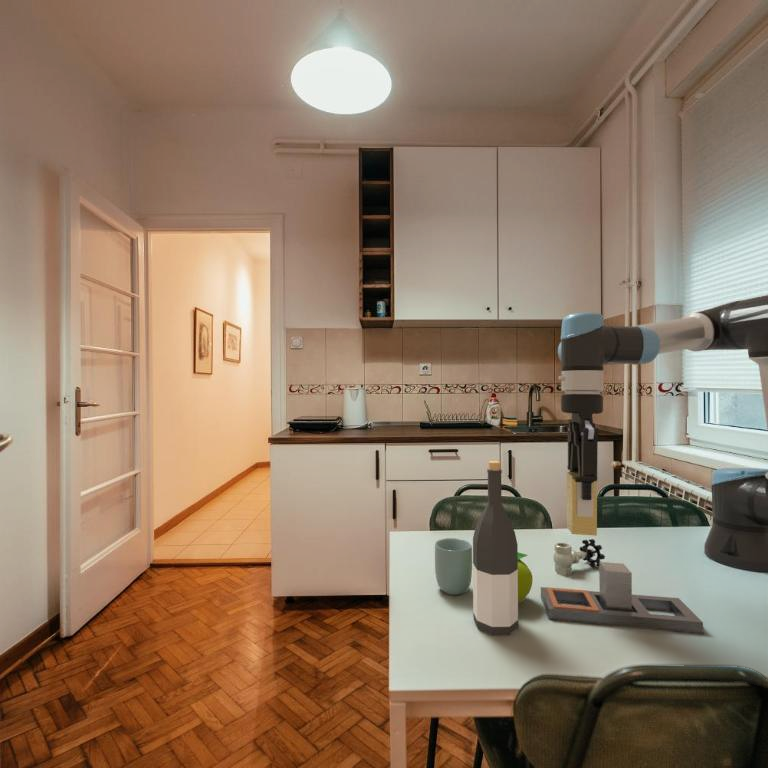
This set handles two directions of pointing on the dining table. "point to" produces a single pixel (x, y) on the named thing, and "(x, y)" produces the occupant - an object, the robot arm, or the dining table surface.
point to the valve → (575, 556)
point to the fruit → (523, 578)
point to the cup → (453, 565)
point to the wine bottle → (495, 564)
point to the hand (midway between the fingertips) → (581, 512)
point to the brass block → (573, 521)
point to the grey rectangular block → (615, 587)
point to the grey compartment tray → (636, 618)
